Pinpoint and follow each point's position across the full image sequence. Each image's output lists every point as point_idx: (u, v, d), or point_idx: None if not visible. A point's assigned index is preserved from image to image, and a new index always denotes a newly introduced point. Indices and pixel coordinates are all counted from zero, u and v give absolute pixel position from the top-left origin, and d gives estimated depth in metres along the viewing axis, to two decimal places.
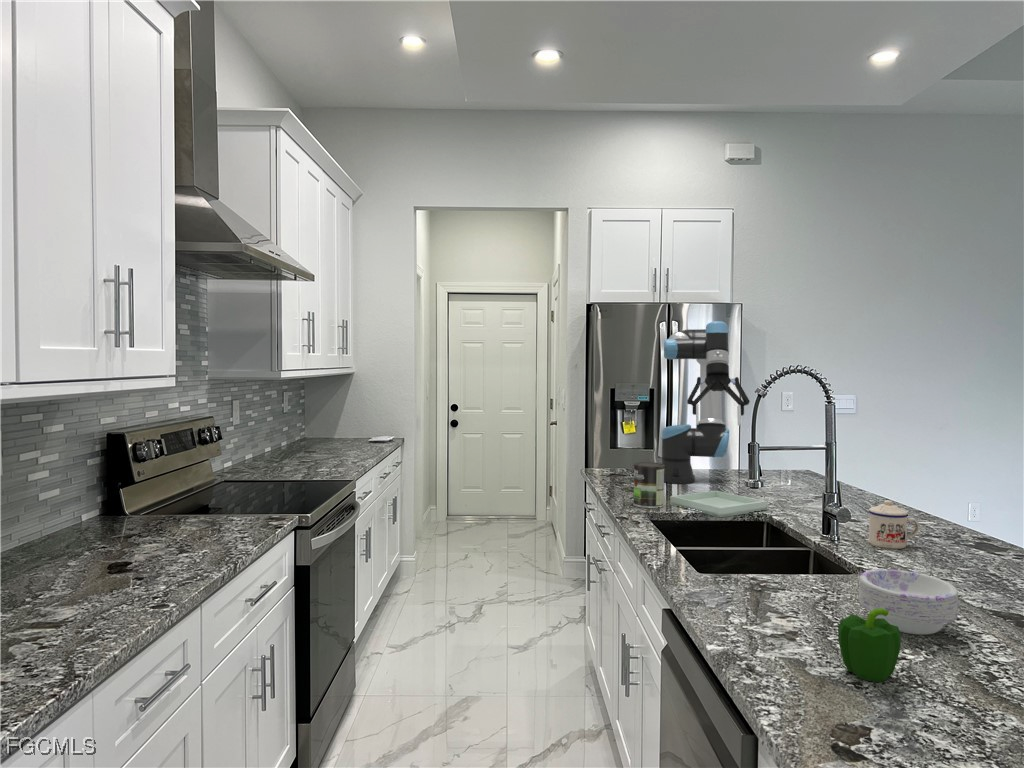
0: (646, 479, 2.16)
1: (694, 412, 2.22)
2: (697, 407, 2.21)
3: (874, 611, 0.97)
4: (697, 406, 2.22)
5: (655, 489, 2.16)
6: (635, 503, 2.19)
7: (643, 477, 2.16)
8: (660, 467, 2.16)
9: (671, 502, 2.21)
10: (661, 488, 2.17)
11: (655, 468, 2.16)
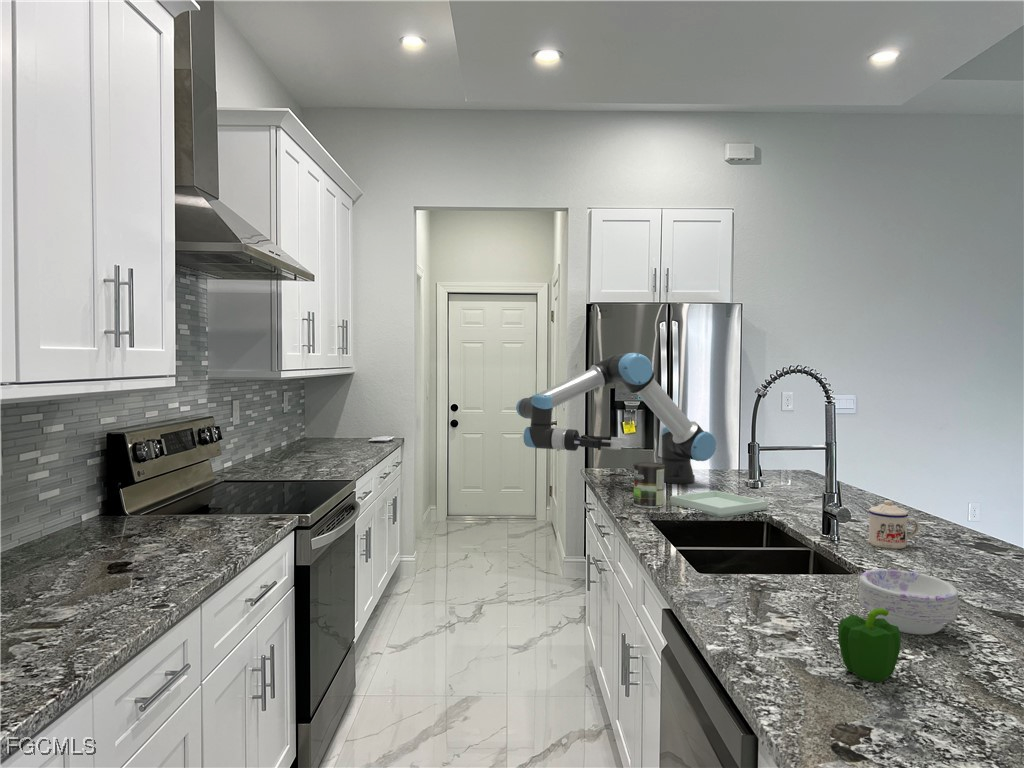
0: (646, 479, 2.16)
1: None
2: None
3: (874, 611, 0.97)
4: None
5: (655, 489, 2.16)
6: (635, 503, 2.19)
7: (643, 477, 2.16)
8: (660, 467, 2.16)
9: (671, 502, 2.21)
10: (661, 488, 2.17)
11: (655, 468, 2.16)
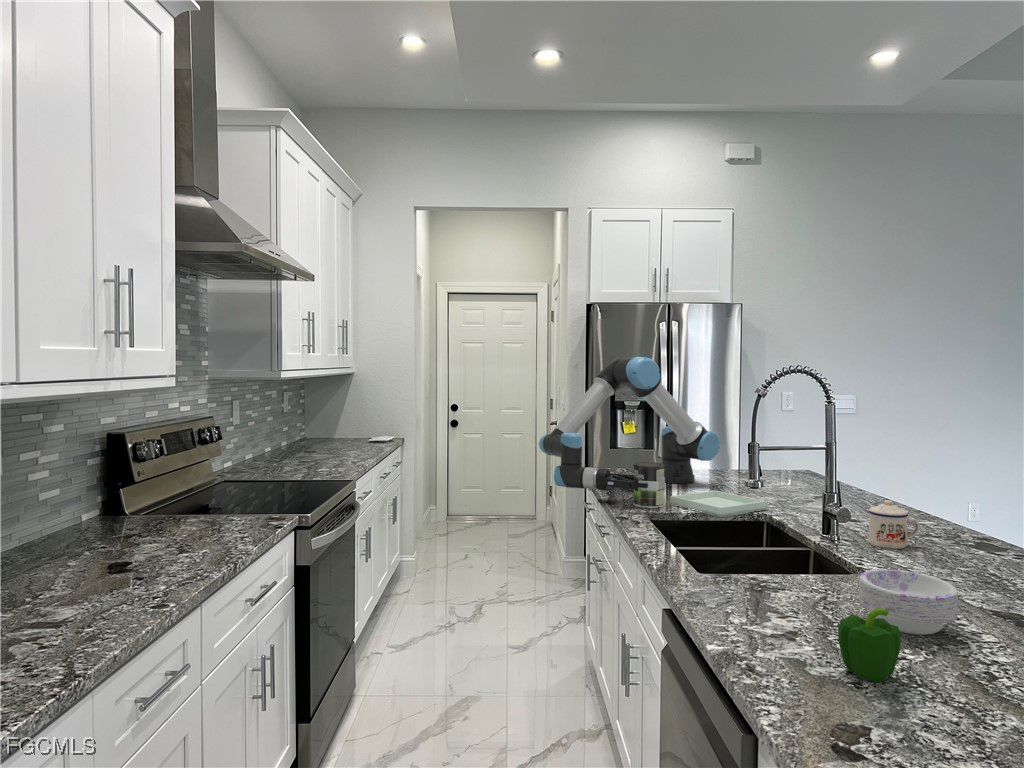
0: (646, 479, 2.16)
1: None
2: None
3: (874, 611, 0.97)
4: None
5: None
6: (635, 503, 2.19)
7: (643, 477, 2.16)
8: (660, 467, 2.16)
9: (671, 502, 2.21)
10: (661, 488, 2.17)
11: (655, 468, 2.16)
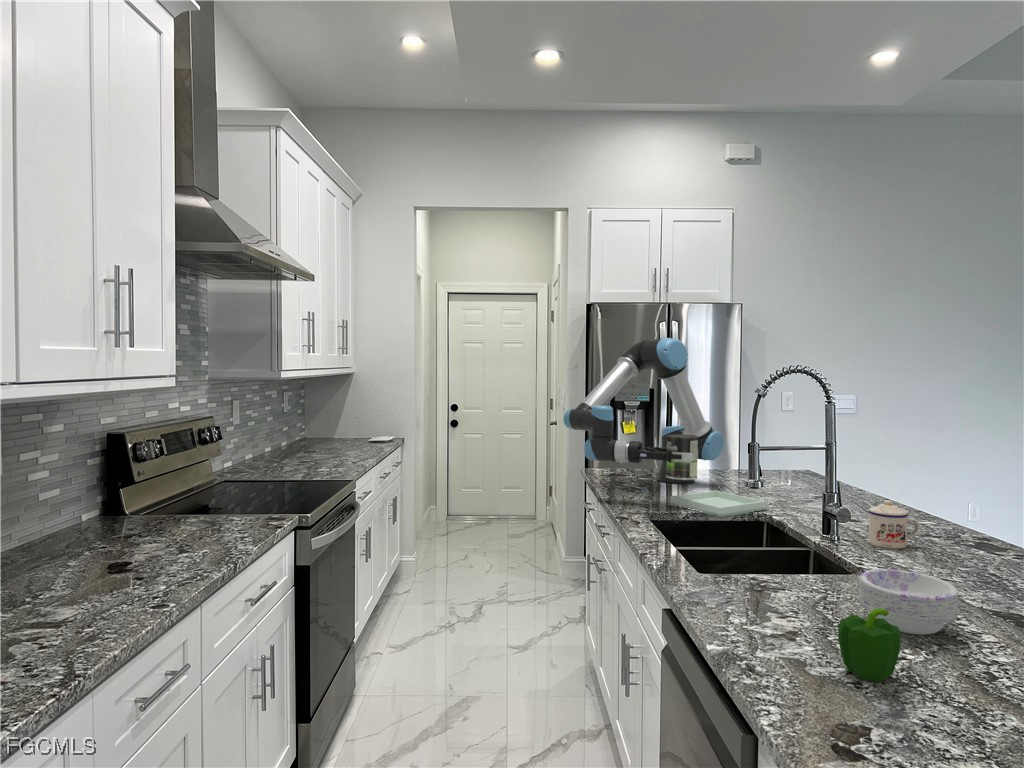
0: (680, 450, 2.13)
1: None
2: None
3: (874, 611, 0.97)
4: None
5: None
6: (668, 475, 2.16)
7: (677, 448, 2.13)
8: (694, 438, 2.13)
9: (671, 502, 2.21)
10: (695, 460, 2.14)
11: (689, 439, 2.12)
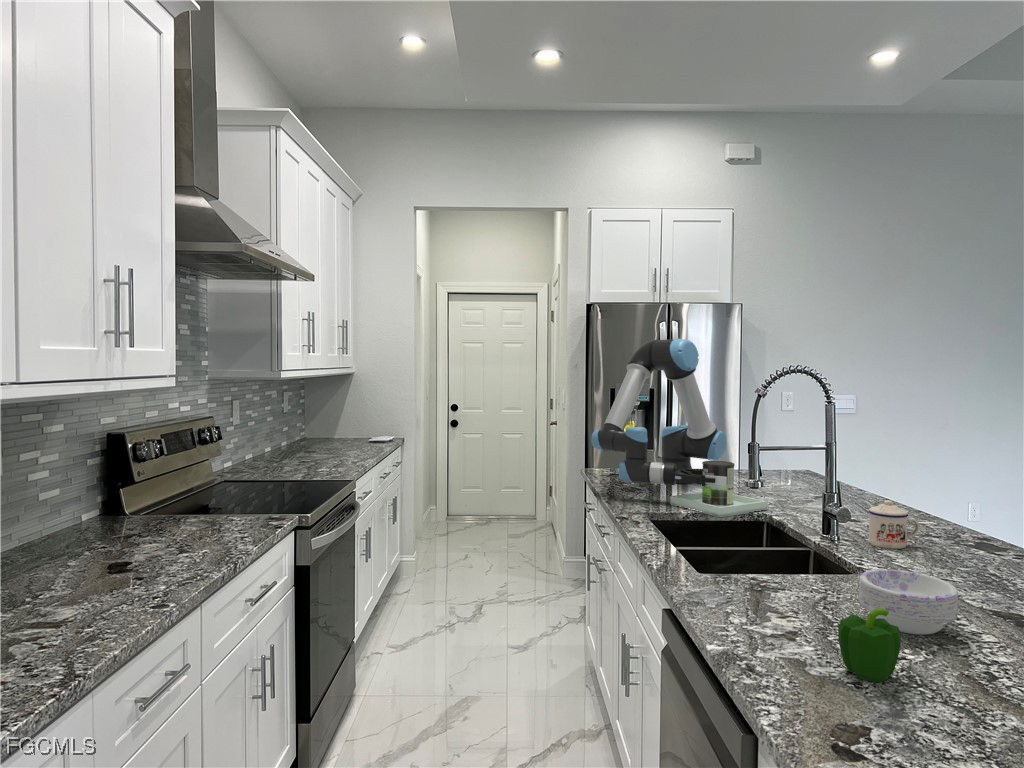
0: None
1: None
2: None
3: (874, 611, 0.97)
4: None
5: (726, 488, 2.13)
6: (704, 502, 2.16)
7: (714, 475, 2.13)
8: (731, 465, 2.13)
9: (671, 502, 2.21)
10: (732, 487, 2.14)
11: (726, 466, 2.13)
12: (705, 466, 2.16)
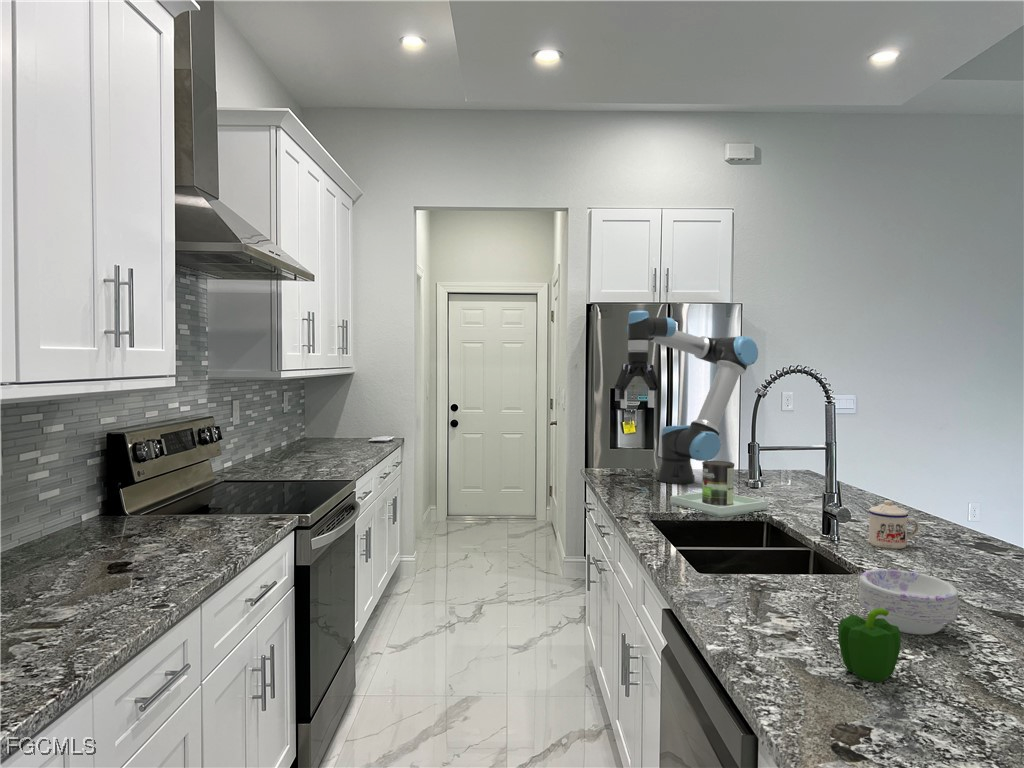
0: (717, 478, 2.13)
1: None
2: None
3: (874, 611, 0.97)
4: None
5: (726, 488, 2.13)
6: (704, 502, 2.16)
7: (714, 475, 2.13)
8: (731, 466, 2.13)
9: (671, 502, 2.21)
10: (732, 487, 2.14)
11: (726, 467, 2.13)
12: (705, 466, 2.16)
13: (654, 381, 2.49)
